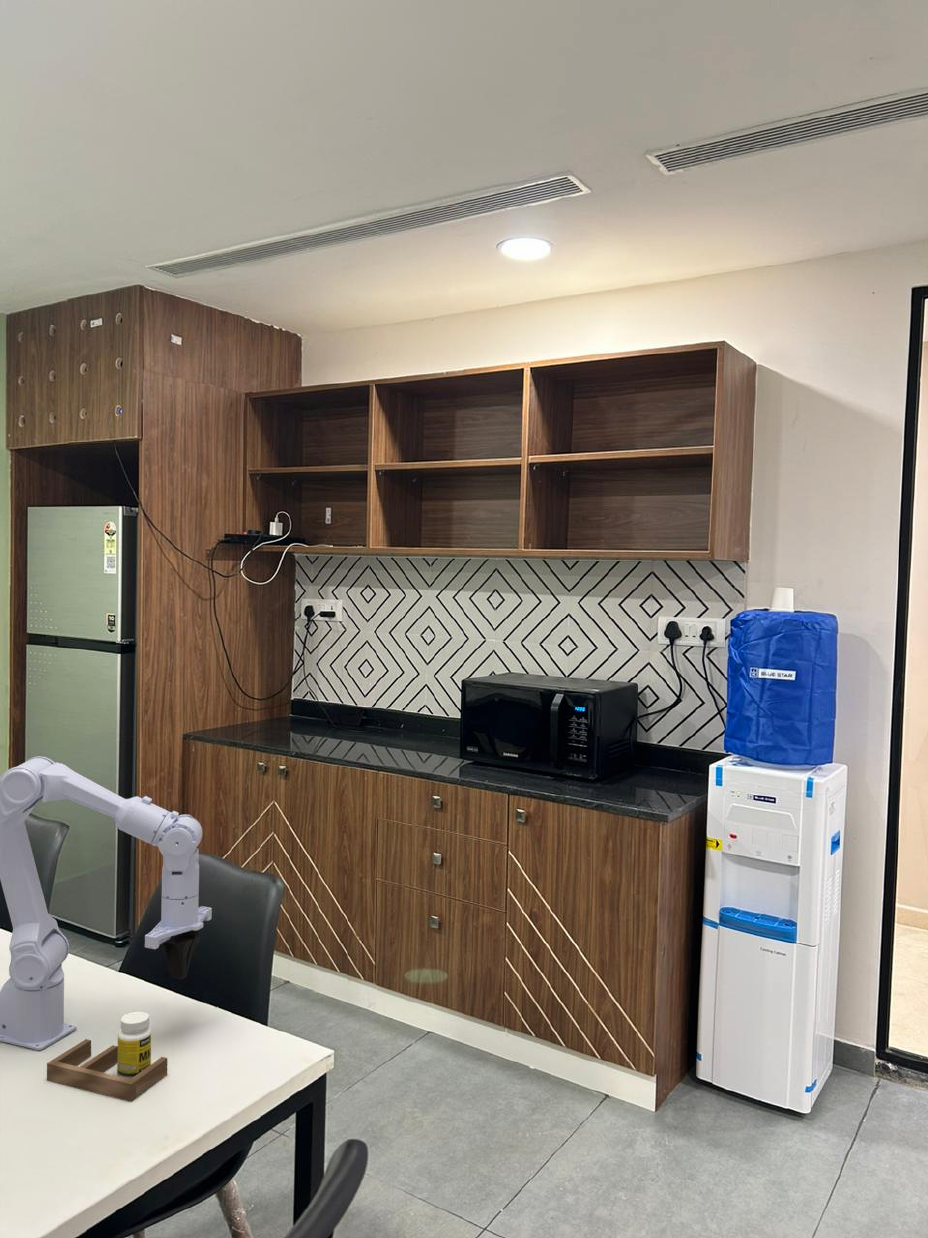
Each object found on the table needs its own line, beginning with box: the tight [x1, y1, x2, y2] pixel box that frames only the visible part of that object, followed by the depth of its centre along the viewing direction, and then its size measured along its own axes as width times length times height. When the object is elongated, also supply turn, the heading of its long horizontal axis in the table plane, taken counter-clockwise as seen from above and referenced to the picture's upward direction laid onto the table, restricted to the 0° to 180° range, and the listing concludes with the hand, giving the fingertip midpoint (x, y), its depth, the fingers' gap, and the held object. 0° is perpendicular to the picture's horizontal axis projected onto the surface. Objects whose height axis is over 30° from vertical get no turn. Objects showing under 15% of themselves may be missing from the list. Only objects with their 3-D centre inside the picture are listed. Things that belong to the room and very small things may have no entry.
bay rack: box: [46, 1038, 168, 1103], centre depth 140 cm, size 15×8×2 cm, turn 70°
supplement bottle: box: [116, 1011, 152, 1079], centre depth 142 cm, size 5×5×8 cm
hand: (178, 977), depth 154 cm, fingers closed
